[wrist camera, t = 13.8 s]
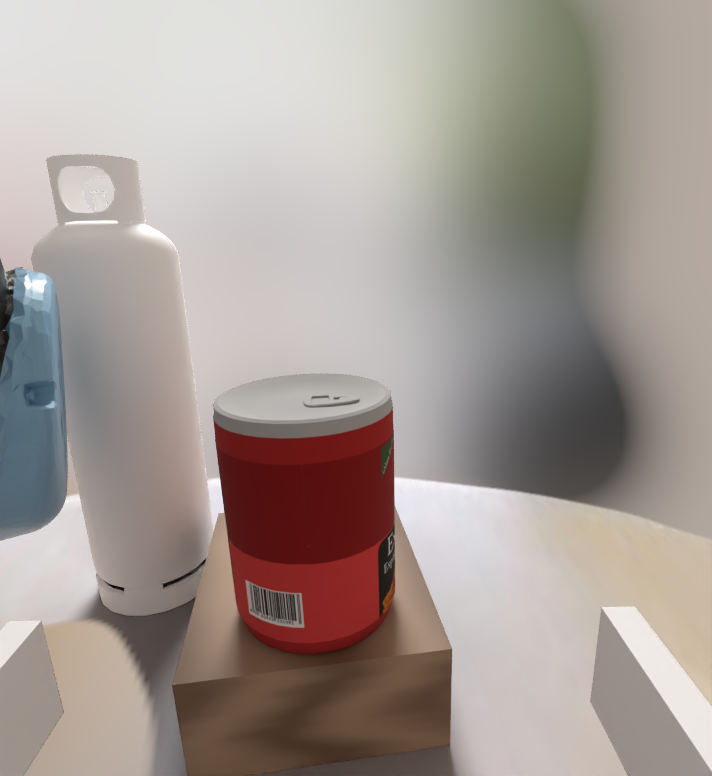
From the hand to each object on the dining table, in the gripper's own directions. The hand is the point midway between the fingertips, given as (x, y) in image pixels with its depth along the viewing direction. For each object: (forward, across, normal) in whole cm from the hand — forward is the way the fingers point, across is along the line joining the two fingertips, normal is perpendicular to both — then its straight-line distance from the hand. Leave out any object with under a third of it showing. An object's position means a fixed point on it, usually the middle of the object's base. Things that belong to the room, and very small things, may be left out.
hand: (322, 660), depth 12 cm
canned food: (+12, -2, -8) cm, 14 cm away
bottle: (+22, -14, -14) cm, 29 cm away
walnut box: (+15, -2, -14) cm, 20 cm away
